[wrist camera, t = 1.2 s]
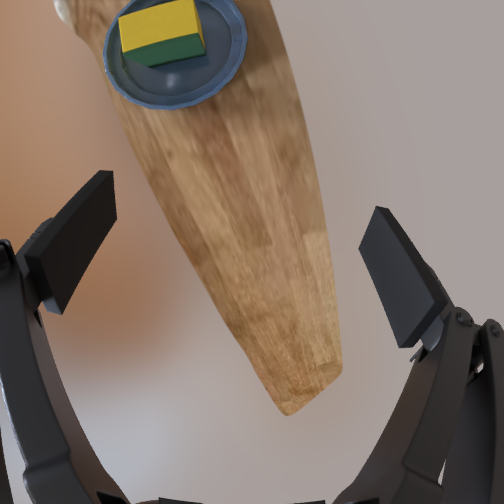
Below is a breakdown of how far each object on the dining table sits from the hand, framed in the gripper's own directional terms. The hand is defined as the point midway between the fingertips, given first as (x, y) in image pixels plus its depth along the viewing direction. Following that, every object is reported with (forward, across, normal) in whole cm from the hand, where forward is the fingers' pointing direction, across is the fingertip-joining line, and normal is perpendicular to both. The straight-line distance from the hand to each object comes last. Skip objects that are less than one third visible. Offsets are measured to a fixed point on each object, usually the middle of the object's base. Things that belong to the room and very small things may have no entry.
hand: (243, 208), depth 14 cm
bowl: (+26, -10, +8) cm, 29 cm away
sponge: (+26, -10, +8) cm, 29 cm away
